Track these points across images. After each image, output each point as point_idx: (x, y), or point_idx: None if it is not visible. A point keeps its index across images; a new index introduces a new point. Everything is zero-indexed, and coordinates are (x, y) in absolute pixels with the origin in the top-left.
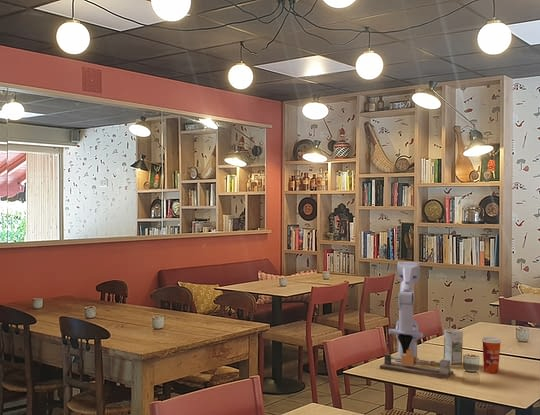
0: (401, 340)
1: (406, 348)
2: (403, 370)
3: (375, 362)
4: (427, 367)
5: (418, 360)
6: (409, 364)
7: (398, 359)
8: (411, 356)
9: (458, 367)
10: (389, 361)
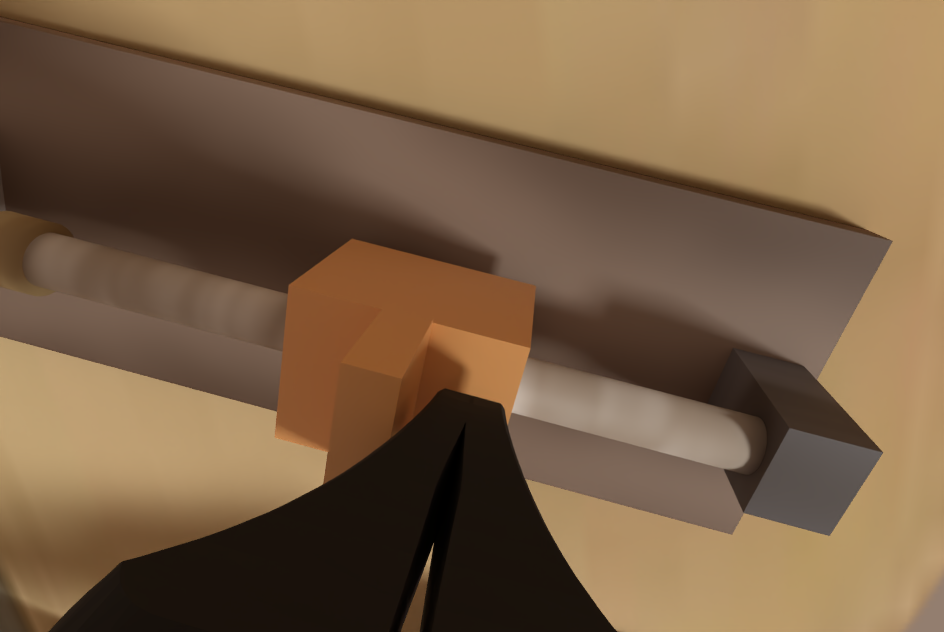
0: (524, 614)
1: (397, 434)
2: (494, 140)
3: (899, 548)
4: (220, 375)
5: (238, 298)
6: (404, 257)
7: (594, 374)
8: (330, 317)
9: (34, 563)
10: (738, 391)
